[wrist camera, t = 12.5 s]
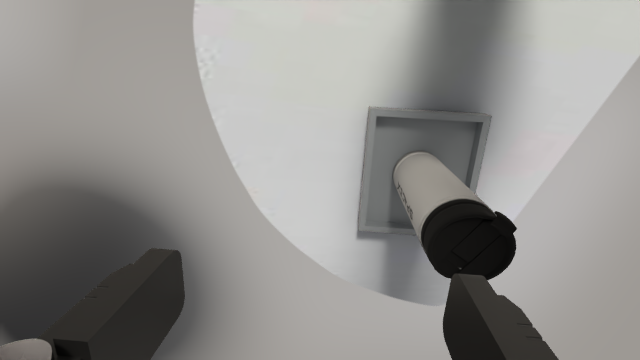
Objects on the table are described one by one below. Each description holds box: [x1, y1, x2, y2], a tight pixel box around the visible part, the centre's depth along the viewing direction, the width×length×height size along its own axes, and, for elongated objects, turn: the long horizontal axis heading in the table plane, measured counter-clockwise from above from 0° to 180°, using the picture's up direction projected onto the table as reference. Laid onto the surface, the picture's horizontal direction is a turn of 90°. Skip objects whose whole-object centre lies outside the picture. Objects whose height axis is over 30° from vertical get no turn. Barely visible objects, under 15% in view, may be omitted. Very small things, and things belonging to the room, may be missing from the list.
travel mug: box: [392, 150, 517, 280], centre depth 33 cm, size 6×7×20 cm
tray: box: [358, 107, 492, 235], centre depth 43 cm, size 16×14×2 cm
